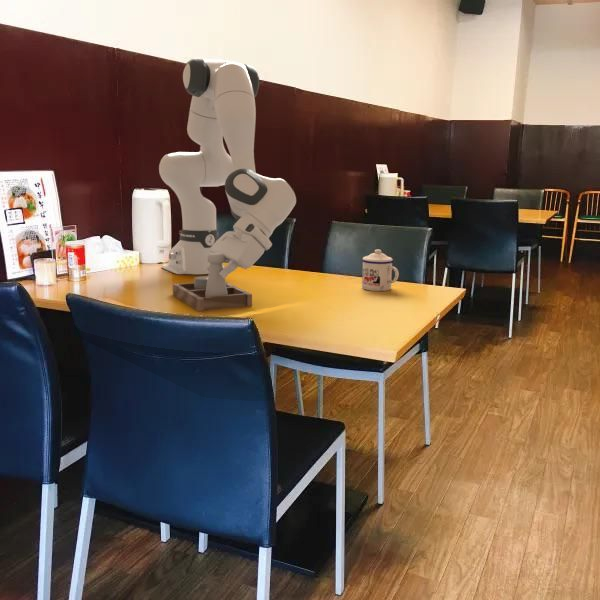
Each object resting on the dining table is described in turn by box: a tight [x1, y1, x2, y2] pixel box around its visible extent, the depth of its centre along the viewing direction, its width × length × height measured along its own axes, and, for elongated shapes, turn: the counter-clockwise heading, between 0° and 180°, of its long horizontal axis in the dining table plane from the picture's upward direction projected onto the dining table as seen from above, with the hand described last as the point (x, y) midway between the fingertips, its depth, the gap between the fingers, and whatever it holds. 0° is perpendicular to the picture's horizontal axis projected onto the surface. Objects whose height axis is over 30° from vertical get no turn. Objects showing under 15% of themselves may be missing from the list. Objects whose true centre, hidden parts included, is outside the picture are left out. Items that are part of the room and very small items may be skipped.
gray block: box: [193, 275, 208, 290], centre depth 166 cm, size 6×6×5 cm
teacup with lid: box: [361, 249, 400, 292], centre depth 183 cm, size 12×9×12 cm
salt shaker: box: [205, 253, 228, 297], centre depth 157 cm, size 6×6×13 cm
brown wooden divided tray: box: [172, 282, 253, 312], centre depth 162 cm, size 21×14×4 cm
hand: (214, 273), depth 157 cm, fingers open, 7 cm apart
